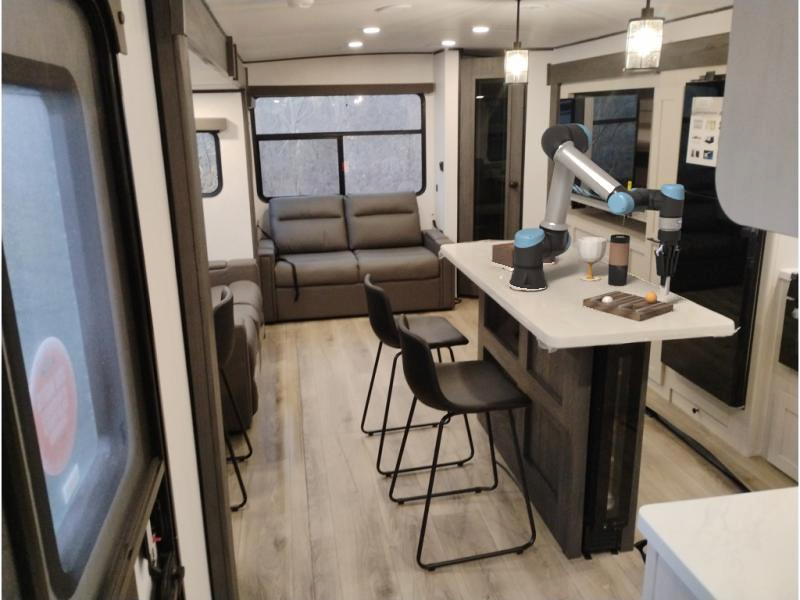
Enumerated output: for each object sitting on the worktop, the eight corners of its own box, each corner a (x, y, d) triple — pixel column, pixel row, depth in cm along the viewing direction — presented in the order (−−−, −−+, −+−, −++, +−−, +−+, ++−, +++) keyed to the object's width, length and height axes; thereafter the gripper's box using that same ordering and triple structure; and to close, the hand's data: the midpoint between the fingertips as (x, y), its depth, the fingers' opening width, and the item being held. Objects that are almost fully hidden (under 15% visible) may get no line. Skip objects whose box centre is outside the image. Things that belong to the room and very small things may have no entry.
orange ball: (642, 302, 231) (643, 291, 230) (649, 300, 233) (650, 290, 232) (652, 305, 228) (653, 294, 227) (659, 303, 230) (660, 292, 229)
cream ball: (601, 294, 236) (607, 296, 238) (598, 304, 236) (604, 307, 238) (610, 295, 233) (616, 298, 235) (607, 306, 233) (613, 309, 235)
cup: (574, 281, 273) (576, 241, 268) (576, 274, 283) (578, 236, 279) (603, 282, 269) (606, 242, 264) (604, 276, 280) (607, 237, 275)
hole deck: (582, 306, 238) (583, 298, 237) (615, 297, 248) (616, 289, 247) (639, 321, 219) (640, 312, 218) (672, 311, 229) (673, 302, 228)
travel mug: (628, 282, 268) (632, 235, 262) (624, 287, 261) (628, 238, 256) (609, 281, 271) (612, 233, 266) (605, 285, 265) (608, 236, 260)
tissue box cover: (511, 272, 292) (511, 250, 290) (492, 266, 305) (492, 245, 302) (555, 264, 304) (556, 243, 302) (535, 259, 316) (535, 239, 314)
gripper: (668, 232, 221) (662, 299, 227) (690, 228, 228) (684, 292, 235) (648, 229, 227) (643, 295, 233) (670, 225, 234) (665, 288, 240)
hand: (664, 293), depth 234 cm, fingers closed
